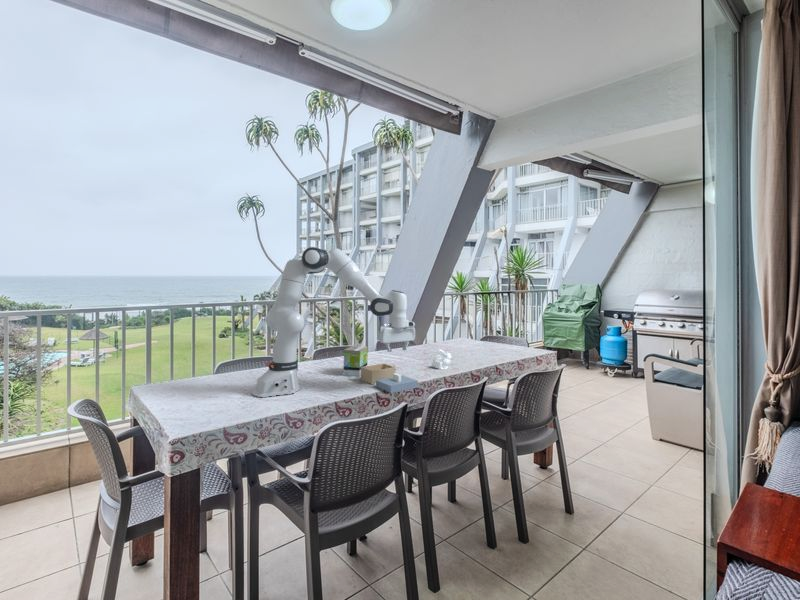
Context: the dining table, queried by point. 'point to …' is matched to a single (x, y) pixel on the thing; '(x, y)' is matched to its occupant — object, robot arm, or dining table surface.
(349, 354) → the tea box
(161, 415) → the dining table surface
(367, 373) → the mailer box
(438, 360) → the rabbit
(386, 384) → the mailer lid
